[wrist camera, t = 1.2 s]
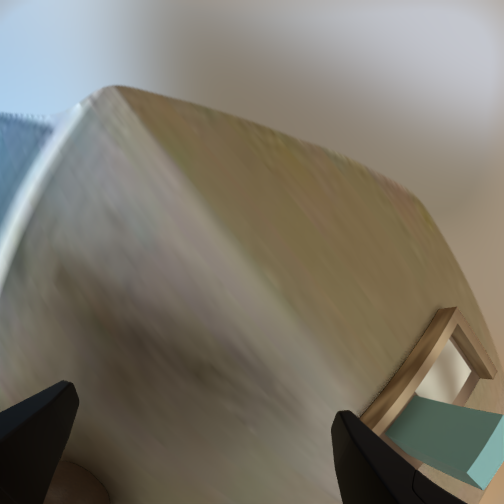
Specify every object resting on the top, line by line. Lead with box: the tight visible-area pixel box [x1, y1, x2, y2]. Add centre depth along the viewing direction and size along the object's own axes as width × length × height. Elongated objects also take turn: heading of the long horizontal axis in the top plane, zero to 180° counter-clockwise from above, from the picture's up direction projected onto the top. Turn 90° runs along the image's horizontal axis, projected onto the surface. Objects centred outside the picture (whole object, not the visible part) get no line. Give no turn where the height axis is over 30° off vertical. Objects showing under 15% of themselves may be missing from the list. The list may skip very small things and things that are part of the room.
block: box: [385, 395, 504, 490], centre depth 18 cm, size 5×5×12 cm
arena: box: [359, 307, 497, 470], centre depth 24 cm, size 16×12×3 cm
